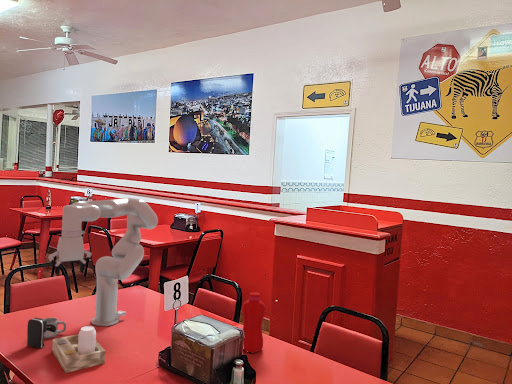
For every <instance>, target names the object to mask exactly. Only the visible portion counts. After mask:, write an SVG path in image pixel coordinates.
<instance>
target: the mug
mask: <svg viewBox="0 0 512 384" xmlns="http://www.w3.org/2000/svg"><path fill="white" fill-rule="evenodd" d="M44 319H45V320H46V322H47V331H46V332H44V338H43V339H54V338H55V337H57V336H58V335H59V334H62V333H64V332H66V330H67V322H66V321H64V320H63V321H62V320H59V318H57V317H46V318H44ZM59 325H63V329H59Z"/></svg>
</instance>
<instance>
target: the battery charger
mask: <svg viewBox="0 0 512 384" xmlns="http://www.w3.org/2000/svg"><path fill="white" fill-rule="evenodd" d="M26 328H27V330H26V333H27V335H26V336H27V341H26V342H27V344H26V346H28V347H31V348H35V349H43V348H44V347H45V343H44V339H45V338H44V332H46V331H47V322H46V320H45V318H40V317H34V318H30V319H28V321H27V327H26Z"/></svg>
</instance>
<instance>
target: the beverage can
mask: <svg viewBox="0 0 512 384" xmlns="http://www.w3.org/2000/svg"><path fill="white" fill-rule="evenodd" d="M78 334H79V336H78V354H79V355H82V354H86V353H91V352H95V343H96V341H97V331H96V329H95V326H93V325H85V326H82V327H81V328H80V330H79V332H78Z"/></svg>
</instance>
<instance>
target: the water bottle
mask: <svg viewBox="0 0 512 384" xmlns="http://www.w3.org/2000/svg"><path fill="white" fill-rule="evenodd" d="M260 297H261V294H260V292H250V293H249V298H248V299H247V300H245V301H244V302H243V305H242V308H241V314H242V315H241V316H242V321H243V327H242V329H243V330H244V332H245V338H244V350H245V351H244V350H243V351H244V352H246V351H248V352H251V353H250V354H254V353H253V352H255V353H257V352H260V351H261V350H263V347H264V337H263V329H262V327H263V326H262V325H263V321H264V318H265V316H266V305H265V303H264V302H263V301H262V300H260ZM248 352H247V353H248Z"/></svg>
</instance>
